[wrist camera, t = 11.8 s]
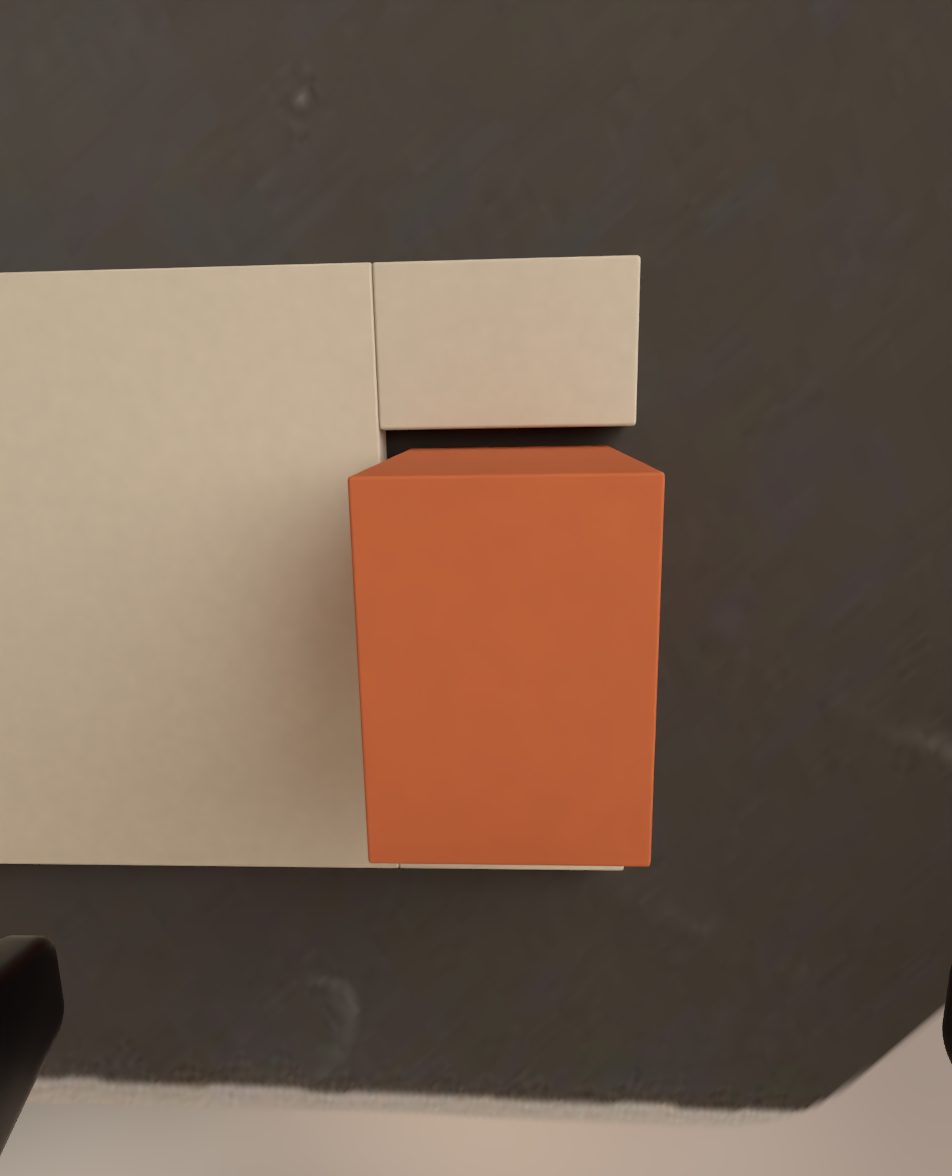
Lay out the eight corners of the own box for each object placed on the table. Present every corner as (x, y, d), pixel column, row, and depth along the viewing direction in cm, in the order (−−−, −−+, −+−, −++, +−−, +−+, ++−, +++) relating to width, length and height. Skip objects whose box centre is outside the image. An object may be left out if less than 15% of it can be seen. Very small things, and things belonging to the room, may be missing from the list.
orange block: (602, 702, 19) (651, 868, 12) (419, 702, 19) (368, 864, 13) (608, 444, 18) (665, 472, 11) (409, 447, 18) (346, 476, 11)
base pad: (618, 848, 20) (623, 871, 19) (-62, 841, 21) (-90, 863, 20) (634, 262, 17) (641, 254, 16) (-170, 284, 18) (-210, 278, 17)
